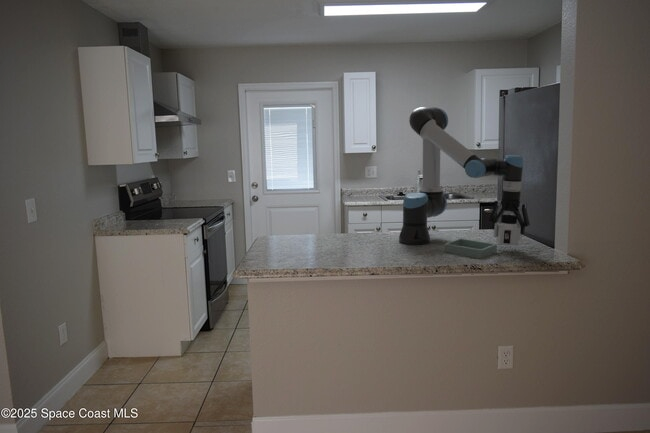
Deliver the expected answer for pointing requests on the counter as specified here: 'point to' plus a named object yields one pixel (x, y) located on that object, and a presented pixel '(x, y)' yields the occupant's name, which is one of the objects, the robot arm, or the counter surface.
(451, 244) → the box
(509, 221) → the container
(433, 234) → the counter surface
